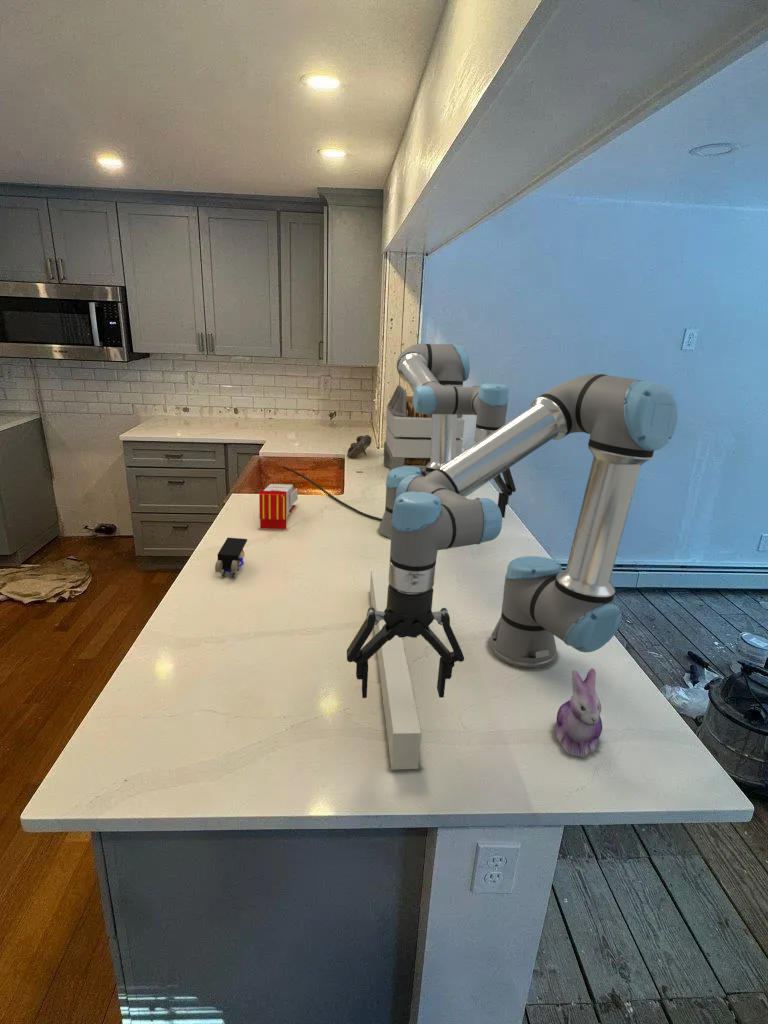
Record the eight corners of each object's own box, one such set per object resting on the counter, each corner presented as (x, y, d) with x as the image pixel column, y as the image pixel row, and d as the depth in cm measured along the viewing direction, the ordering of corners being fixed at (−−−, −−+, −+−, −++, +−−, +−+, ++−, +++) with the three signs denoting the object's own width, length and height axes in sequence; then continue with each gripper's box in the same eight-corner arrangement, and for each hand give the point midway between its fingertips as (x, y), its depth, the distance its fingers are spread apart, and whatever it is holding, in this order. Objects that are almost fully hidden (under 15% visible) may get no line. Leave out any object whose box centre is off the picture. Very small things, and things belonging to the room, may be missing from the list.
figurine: (579, 767, 100) (594, 696, 95) (539, 730, 108) (551, 663, 103) (617, 750, 104) (633, 682, 99) (576, 716, 112) (588, 651, 107)
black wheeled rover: (238, 584, 162) (249, 557, 175) (236, 562, 158) (247, 536, 172) (215, 584, 161) (227, 556, 175) (212, 561, 158) (225, 535, 171)
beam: (370, 593, 158) (371, 568, 155) (386, 593, 158) (388, 568, 155) (391, 769, 98) (393, 733, 95) (418, 769, 98) (421, 733, 95)
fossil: (347, 441, 314) (368, 426, 309) (358, 454, 317) (379, 439, 312) (341, 455, 294) (363, 439, 289) (352, 469, 297) (375, 453, 292)
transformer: (382, 463, 289) (386, 382, 275) (445, 464, 293) (451, 384, 279) (390, 482, 257) (394, 392, 243) (460, 483, 261) (468, 394, 247)
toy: (299, 479, 223) (289, 492, 194) (299, 512, 226) (289, 530, 197) (268, 478, 223) (253, 491, 193) (268, 512, 225) (254, 529, 196)
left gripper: (456, 449, 142) (449, 529, 149) (534, 444, 152) (525, 518, 159) (440, 443, 148) (434, 519, 155) (517, 438, 158) (508, 509, 166)
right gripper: (334, 595, 89) (331, 707, 96) (490, 596, 91) (476, 706, 98) (334, 574, 96) (331, 680, 103) (479, 576, 98) (466, 679, 105)
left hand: (480, 519), depth 157 cm, fingers open, 13 cm apart
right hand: (402, 693), depth 100 cm, fingers open, 13 cm apart
